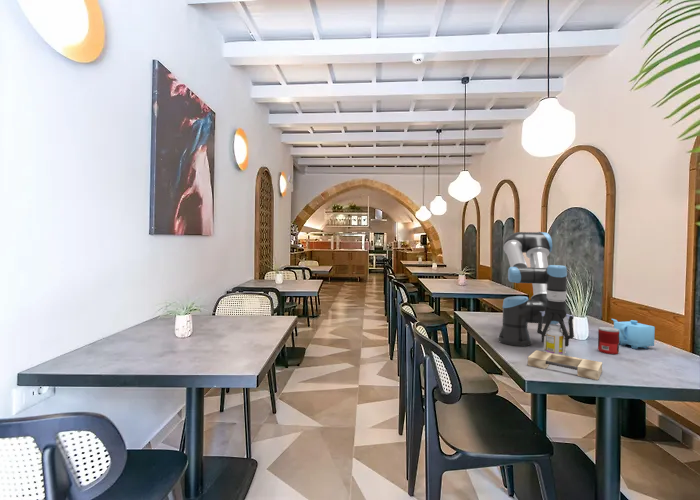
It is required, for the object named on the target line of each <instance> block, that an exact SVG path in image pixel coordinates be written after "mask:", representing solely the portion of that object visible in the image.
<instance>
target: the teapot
mask: <svg viewBox="0 0 700 500" xmlns="http://www.w3.org/2000/svg"><path fill="white" fill-rule="evenodd" d="M611 321H613V328H615V329H618V330H619V346H624V347H625V346H626V345H629V346H631V347H630V348H631V349H633V350H638V349H639V348H642V349H649V348H648V347H654V346H655V331H656V327H655V326H653V325H650V324H649V325H648V324H645V323H641V322H638V320H636V319H635V320H633V319H631V320H629V321H618V320H617V319H615V318H611Z"/></svg>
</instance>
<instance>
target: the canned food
mask: <svg viewBox="0 0 700 500" xmlns="http://www.w3.org/2000/svg"><path fill="white" fill-rule="evenodd" d="M597 334H598V336H597V350H598V352H599V353H602V354H607V355H618V354H619V352H620V351H619V350H620V345H619V344H620V342H619V330H618V329H615V328H614V327H610V326H609V327H607V326H599V327H598V331H597Z"/></svg>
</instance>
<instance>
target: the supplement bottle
mask: <svg viewBox="0 0 700 500" xmlns="http://www.w3.org/2000/svg"><path fill="white" fill-rule="evenodd" d="M545 335H546V351H545V352H549V353H554V354H560V355H564V354H562V353H563V339H564V338H565V337H564V334H563V331H562V329H561V326H560V324H549V327H548V330H547V332H546V334H545Z"/></svg>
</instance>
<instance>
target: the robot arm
mask: <svg viewBox="0 0 700 500" xmlns="http://www.w3.org/2000/svg"><path fill="white" fill-rule="evenodd" d="M502 249H503V252H504V253H505V254H506V256H507V260H508V263H509V266H510V267H508V270H507V279H508V280H507V281H508V282H510V283H516V284H531V285H532V292H533V295H532V296H531V297H530V299H529V297H528V296H524V295H516V296H514V295H513V296H507V297H505V298H504V299H503V301H502V326H501V330H500V332H499V334H498V342H499V341H500V343H501V344H504V345H509V346H513V347H514V346H515V347H528V346H531V345H532V338H531V335H530V332H529V329H528V327H529V326H528V324H537V330H536V331H537V332H536V333H537V334H540V335H541V343H543V351H544V352H546V334H547V331H548V330H549V324H557V325H560V326H561V331H562V332H563V334H564V339H563V353H562V354H563V355H565V354H566V353H567V352H566V351H567V347H569V344H570V340H572V339H574V338H575V336H574V335H575V334H574V333H575V332H574V324H573V323H574V322H573V320H574V318H575V317H574V315H572V314H568V312H567V310H566V308H567V302H566V301H567V279H568V278H567V276H568V272H567V271H568V268H567V266H565V265H562V264H561V265H560V264H559V265H558V264H549V263H548V257H549V255H550V253H552V251H553V240H552V237H551V235H550V234H549V233H548V232H544V231H538V232H537V231H535V232H534V231H527V232H526V231H518V232H514V233H511V234H510V235H509V236H506V238H505V239H504V241H503V243H502ZM524 254H525V255H526V257H527V259H529V264H530V267H529V266H528V264H527V261H526V259H525V256H524ZM565 318H567V322H568V330H567V327H566V325H565V321H564V319H565ZM543 324H544V327H543ZM542 327H543V328H542ZM568 331H569V333H568Z"/></svg>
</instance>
